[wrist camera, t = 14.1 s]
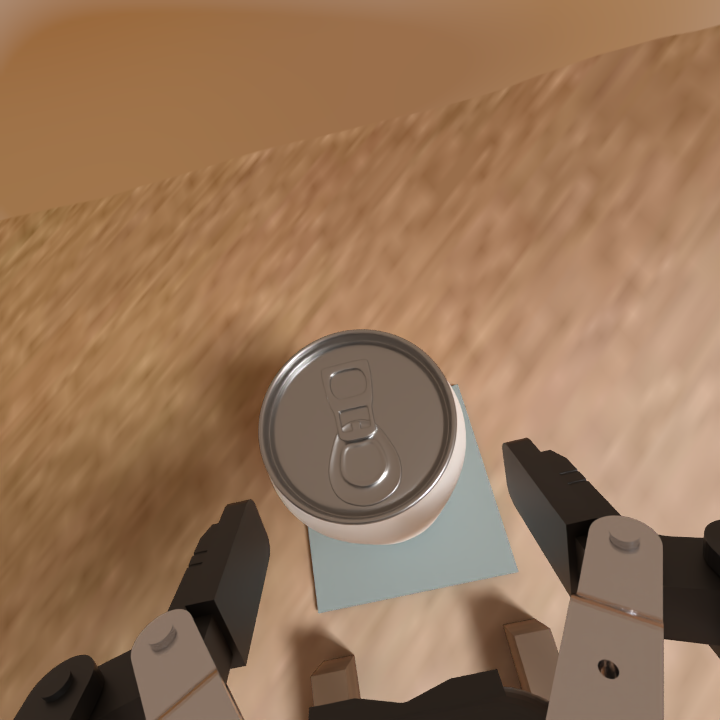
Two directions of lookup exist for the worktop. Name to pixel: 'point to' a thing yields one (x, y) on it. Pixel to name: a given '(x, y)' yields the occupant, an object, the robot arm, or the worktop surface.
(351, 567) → the pad
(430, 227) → the worktop surface
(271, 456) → the can
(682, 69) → the worktop surface
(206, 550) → the robot arm
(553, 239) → the worktop surface
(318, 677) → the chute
